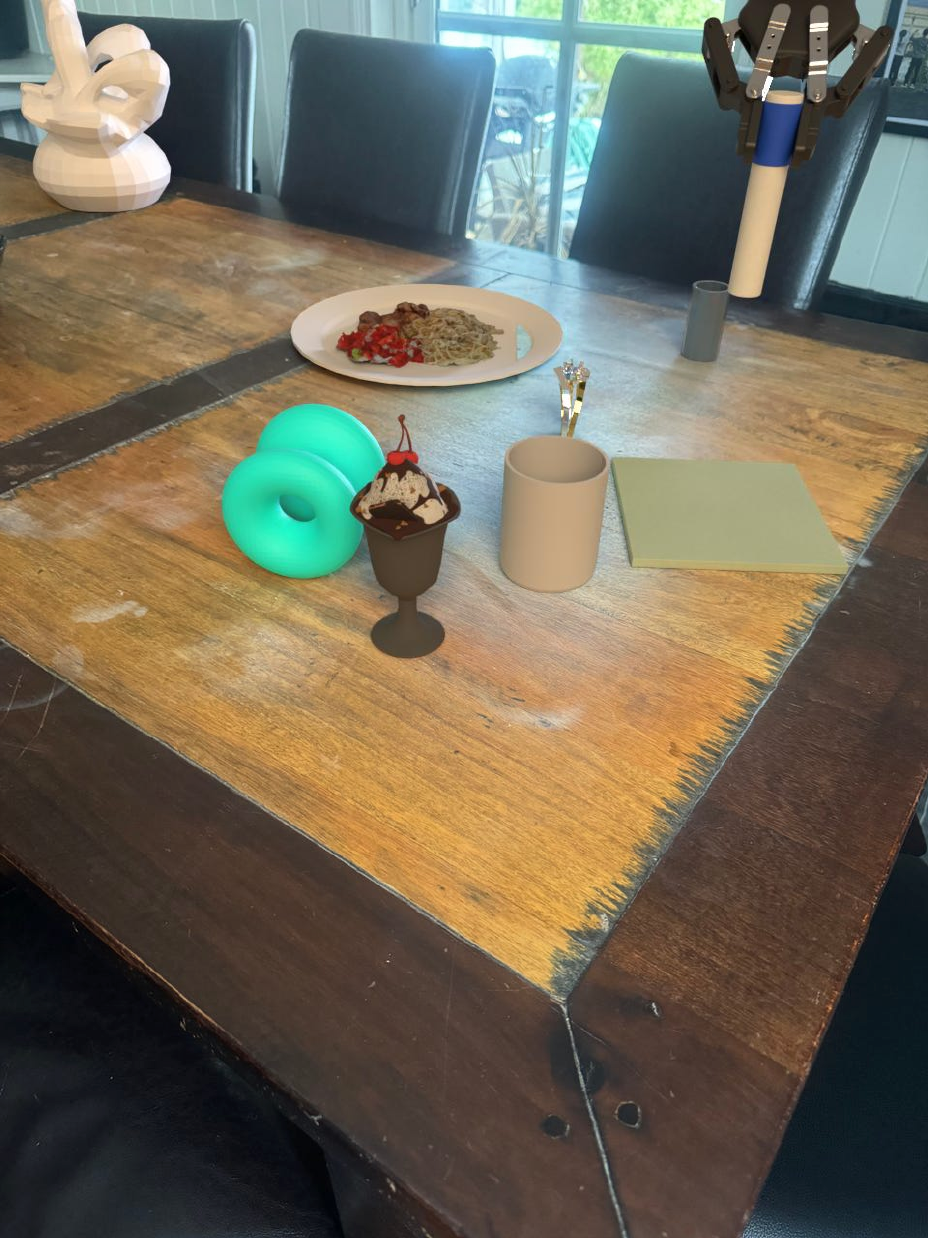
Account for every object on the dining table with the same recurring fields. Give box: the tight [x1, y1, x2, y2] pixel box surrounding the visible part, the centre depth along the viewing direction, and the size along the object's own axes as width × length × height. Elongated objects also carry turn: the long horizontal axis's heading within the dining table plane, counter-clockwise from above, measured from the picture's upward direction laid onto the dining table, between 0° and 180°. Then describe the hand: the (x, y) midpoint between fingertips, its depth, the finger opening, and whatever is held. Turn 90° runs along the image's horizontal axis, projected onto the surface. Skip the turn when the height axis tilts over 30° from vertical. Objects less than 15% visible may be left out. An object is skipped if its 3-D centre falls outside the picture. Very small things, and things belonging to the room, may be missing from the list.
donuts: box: [221, 403, 386, 580], centre depth 66 cm, size 10×10×10 cm
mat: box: [610, 456, 850, 575], centre depth 74 cm, size 16×16×1 cm
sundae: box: [349, 413, 462, 659], centre depth 56 cm, size 7×7×15 cm
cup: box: [498, 434, 611, 594], centre depth 66 cm, size 7×10×9 cm
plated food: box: [290, 283, 564, 387], centre depth 101 cm, size 30×30×3 cm
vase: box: [19, 0, 172, 213], centre depth 138 cm, size 29×22×35 cm
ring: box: [552, 358, 591, 438], centre depth 81 cm, size 7×3×8 cm, turn 172°
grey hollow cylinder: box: [680, 279, 732, 363], centre depth 98 cm, size 4×4×8 cm
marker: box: [728, 89, 804, 299], centre depth 69 cm, size 3×3×14 cm
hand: (773, 158), depth 65 cm, fingers closed on marker, 2 cm apart
